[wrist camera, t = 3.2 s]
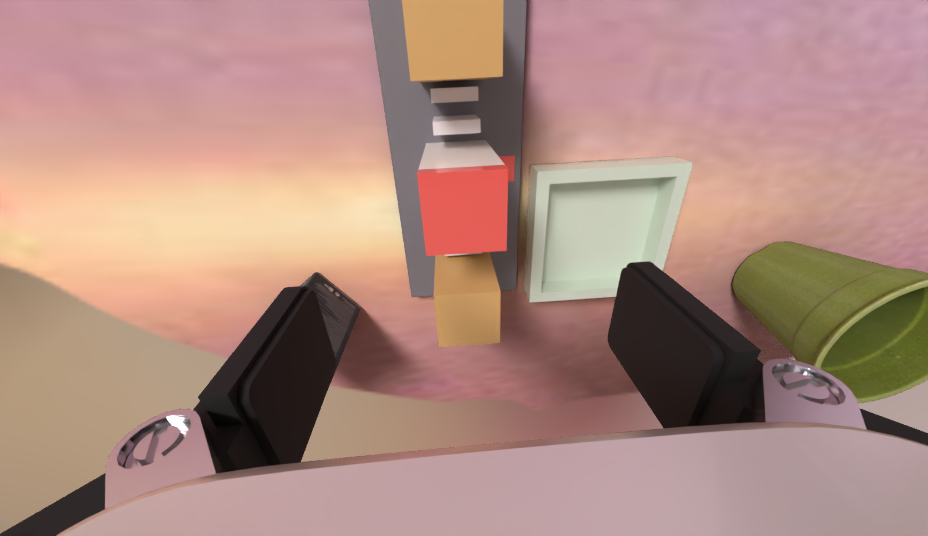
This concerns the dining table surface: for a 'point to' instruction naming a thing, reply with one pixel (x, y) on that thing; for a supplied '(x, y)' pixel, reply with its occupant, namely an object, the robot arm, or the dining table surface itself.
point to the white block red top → (463, 198)
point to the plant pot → (841, 315)
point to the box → (334, 312)
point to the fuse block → (453, 137)
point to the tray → (598, 223)
